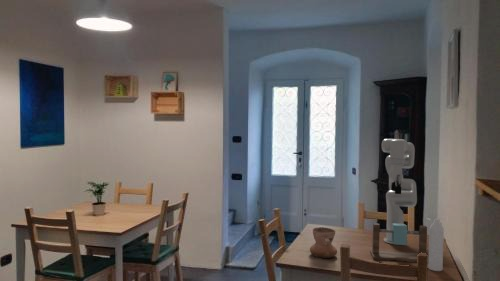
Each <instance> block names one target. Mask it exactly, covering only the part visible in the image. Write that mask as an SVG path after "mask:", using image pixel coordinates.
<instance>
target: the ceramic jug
mask: <svg viewBox="0 0 500 281" xmlns="http://www.w3.org/2000/svg"><path fill="white" fill-rule="evenodd" d="M336 232H337V231H336V230H335V229H332V228H329V227H323V226H319V227H318V226H317V227H314V228H312V235H313V238H314V241H315V243H313V244H312V245H311V246H310V248H309V252H310V253H311V255H313V256H314V257H316V258H320V259H330V258H334V257H336V255H337V254H338V249H337V248H336V247H335V245H333V244H332V243H333V241H334V239H335V237H336Z"/></svg>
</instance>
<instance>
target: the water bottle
mask: <svg viewBox="0 0 500 281" xmlns="http://www.w3.org/2000/svg"><path fill="white" fill-rule="evenodd" d="M431 220H432V219H431V218H429V217H426V218H425V222H431ZM428 232H429V233H428V256H427V258H428V263H427V268H428V269H429V270H431V271H434V272H441V271H443V269H444V268H443V267H444V266H443V264H444V262H443V260H444V234H445V233H444V232H445V230H444V227H443V226H442V224H441V223H440V219H439V218H434V219H433V222H432V223H431V224H430V226H429V228H428Z"/></svg>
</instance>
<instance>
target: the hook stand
mask: <svg viewBox="0 0 500 281" xmlns="http://www.w3.org/2000/svg"><path fill="white" fill-rule="evenodd" d="M380 225H381V224H380V223H377V222H375V223H372V245H371V246H372V249H369V253H370V255H371V258H372V260H374V261H375V260H376V261H387V260H396V261H395V262H404V261H407V262H406V263H418V262H417V255H418V254H419V253H421V252H422V253H426V254H427V248H428V247H427V246H428V244H427V243H428V241H427V240H428V239H427V238H428V236H427V235H428V227H427V226H426V225H419V230H407V235H408V234H409V235H411V234H412V235H418V237H419V239H418V240H419V241H418V252H413V251H394V250H393V251H392V250H380V233H386V232H387V233H394V230H387V229H382V228H381V229H380ZM415 261H416V262H415Z"/></svg>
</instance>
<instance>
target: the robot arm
mask: <svg viewBox="0 0 500 281" xmlns="http://www.w3.org/2000/svg"><path fill="white" fill-rule="evenodd" d="M415 148H416V147H415V145H414V144H413V143H412V142H407V140H406V139H402V138H384V139H383V140H382V141H381V151H382V152H383V153H387V154H389V155H387V156H385V157H386V158H385V162H384V163H385V165H384V166H385V171H386V172H387V174H388V190H387V192H386V193H385V202H386V230H392V223H396V224H404V216H405V215H404V211H403V210H402V209H401V207H408V208H413V207H416V205H417V203H418V196H417V195H418V194H417V193H418V192H417V182H416V181H415V179H412V178H405V177H404V174H403V169H412V168H413V167H414V166H415V153H416V150H415ZM385 233H386V236H385V237H383V241H384V242H385V243H387V244H391V245H395V244H394V242H392V233H387V232H385Z"/></svg>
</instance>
